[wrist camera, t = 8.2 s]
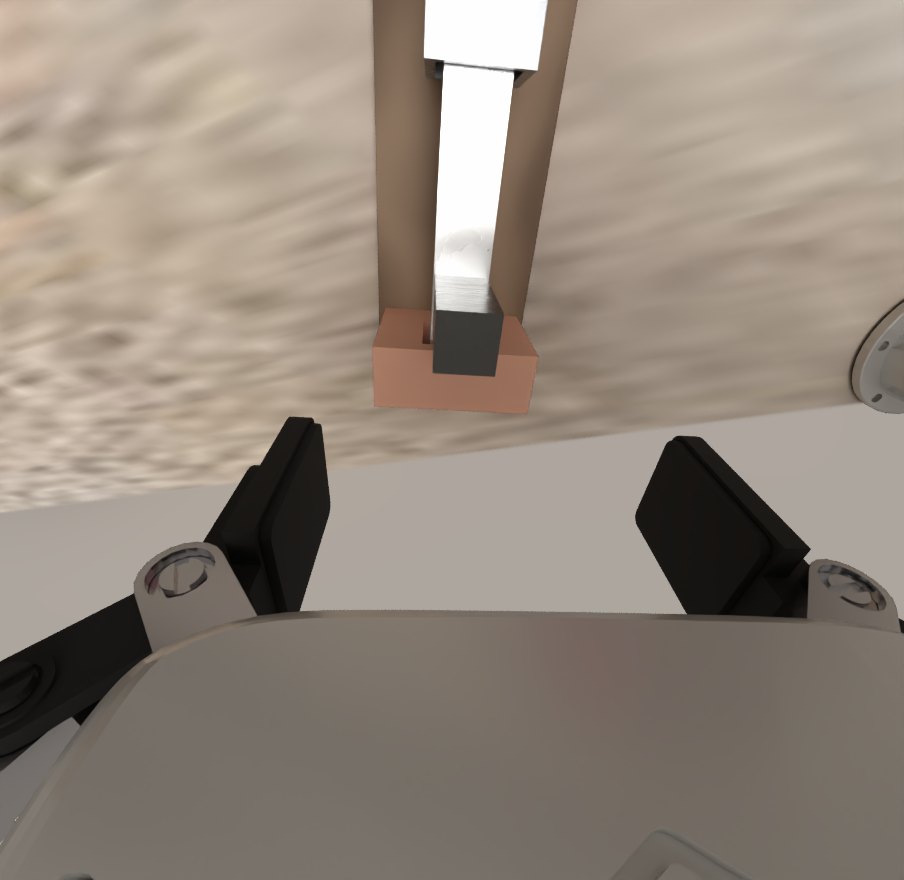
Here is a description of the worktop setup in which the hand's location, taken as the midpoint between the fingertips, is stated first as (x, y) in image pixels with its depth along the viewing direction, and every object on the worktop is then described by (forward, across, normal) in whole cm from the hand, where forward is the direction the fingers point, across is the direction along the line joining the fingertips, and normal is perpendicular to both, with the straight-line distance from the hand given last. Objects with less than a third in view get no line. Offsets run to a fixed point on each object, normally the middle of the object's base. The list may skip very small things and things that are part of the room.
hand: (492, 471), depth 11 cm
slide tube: (+19, 0, -5) cm, 20 cm away
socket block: (+23, 0, +4) cm, 23 cm away
